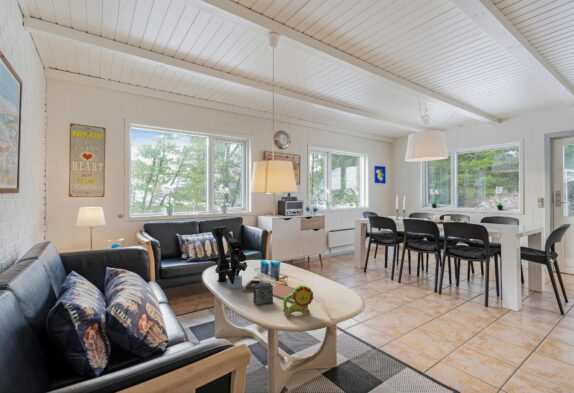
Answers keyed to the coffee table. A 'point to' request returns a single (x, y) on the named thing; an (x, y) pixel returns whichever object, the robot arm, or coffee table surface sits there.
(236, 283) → the key block
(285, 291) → the notebook
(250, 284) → the keyed nest
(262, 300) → the small box
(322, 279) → the coffee table surface
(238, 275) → the robot arm
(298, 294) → the toy lion
